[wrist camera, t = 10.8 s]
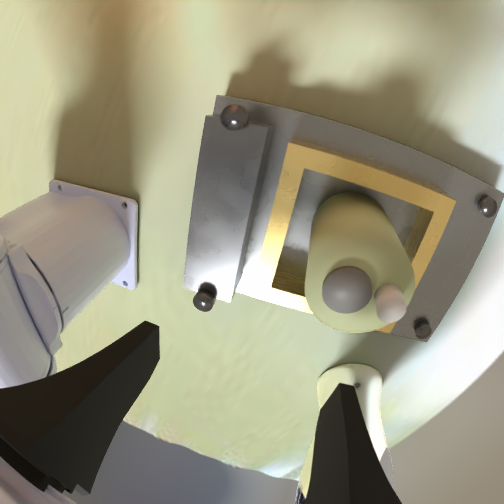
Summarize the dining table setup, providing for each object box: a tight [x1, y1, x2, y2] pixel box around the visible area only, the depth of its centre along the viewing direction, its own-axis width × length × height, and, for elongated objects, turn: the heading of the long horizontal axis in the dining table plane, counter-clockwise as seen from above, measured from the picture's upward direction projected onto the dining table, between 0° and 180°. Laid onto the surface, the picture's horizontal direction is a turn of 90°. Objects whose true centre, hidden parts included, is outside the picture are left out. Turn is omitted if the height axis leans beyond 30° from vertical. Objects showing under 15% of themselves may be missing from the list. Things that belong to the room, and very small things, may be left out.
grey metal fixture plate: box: [183, 95, 504, 342], centre depth 16 cm, size 18×12×5 cm, turn 78°
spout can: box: [305, 192, 415, 333], centre depth 14 cm, size 5×5×7 cm
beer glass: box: [295, 364, 394, 504], centre depth 18 cm, size 7×7×15 cm
